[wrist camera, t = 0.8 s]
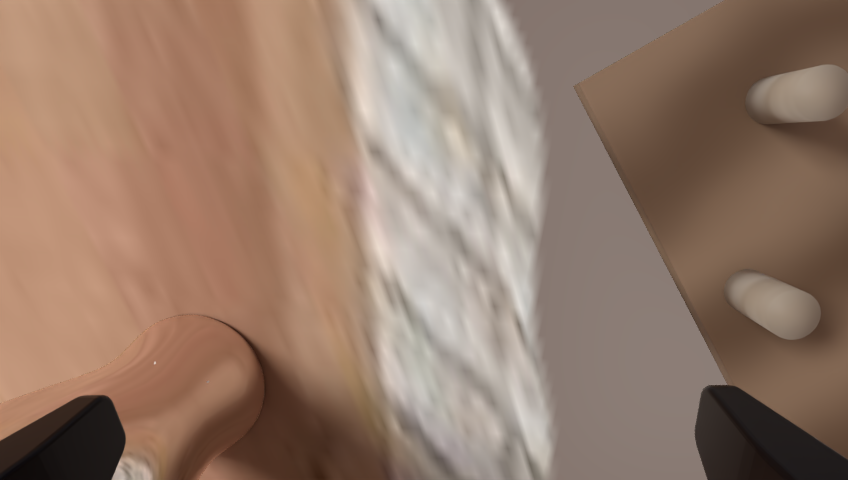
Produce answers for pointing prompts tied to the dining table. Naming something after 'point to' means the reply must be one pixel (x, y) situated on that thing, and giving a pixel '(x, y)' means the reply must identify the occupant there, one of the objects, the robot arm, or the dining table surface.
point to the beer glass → (166, 397)
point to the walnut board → (747, 190)
